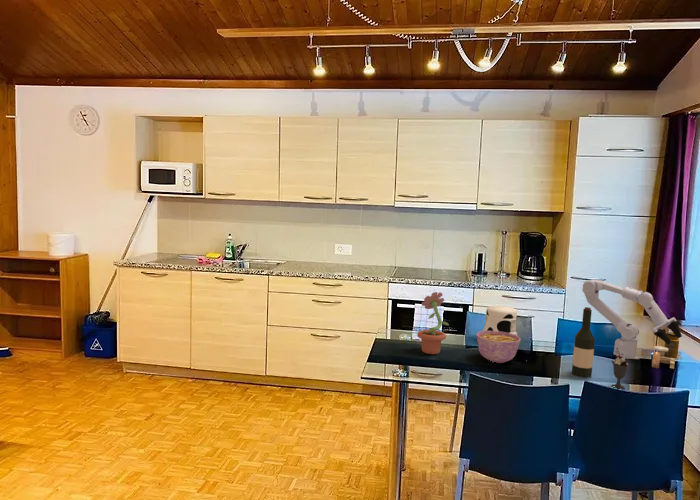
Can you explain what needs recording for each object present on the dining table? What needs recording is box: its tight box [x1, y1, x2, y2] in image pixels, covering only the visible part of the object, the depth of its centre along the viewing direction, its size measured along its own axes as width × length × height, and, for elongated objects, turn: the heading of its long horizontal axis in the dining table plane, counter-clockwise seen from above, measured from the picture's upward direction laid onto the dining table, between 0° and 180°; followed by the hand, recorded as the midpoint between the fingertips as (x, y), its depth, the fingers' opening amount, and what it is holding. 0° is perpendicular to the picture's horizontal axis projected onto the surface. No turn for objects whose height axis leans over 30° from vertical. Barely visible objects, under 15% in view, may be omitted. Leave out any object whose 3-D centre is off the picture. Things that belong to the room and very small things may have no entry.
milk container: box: [482, 305, 518, 336], centre depth 282 cm, size 17×17×18 cm
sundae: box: [611, 350, 630, 390], centre depth 221 cm, size 7×7×15 cm
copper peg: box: [651, 351, 661, 369], centre depth 251 cm, size 3×3×7 cm
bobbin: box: [654, 345, 668, 357], centre depth 264 cm, size 6×6×6 cm
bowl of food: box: [476, 330, 521, 364], centre depth 250 cm, size 20×20×12 cm
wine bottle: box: [571, 306, 596, 379], centre depth 234 cm, size 8×8×30 cm
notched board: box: [660, 356, 676, 370], centre depth 256 cm, size 10×8×2 cm
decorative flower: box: [416, 291, 450, 355], centre depth 257 cm, size 15×14×30 cm
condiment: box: [663, 331, 681, 360], centre depth 269 cm, size 7×8×12 cm
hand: (674, 340), depth 253 cm, fingers open, 7 cm apart
